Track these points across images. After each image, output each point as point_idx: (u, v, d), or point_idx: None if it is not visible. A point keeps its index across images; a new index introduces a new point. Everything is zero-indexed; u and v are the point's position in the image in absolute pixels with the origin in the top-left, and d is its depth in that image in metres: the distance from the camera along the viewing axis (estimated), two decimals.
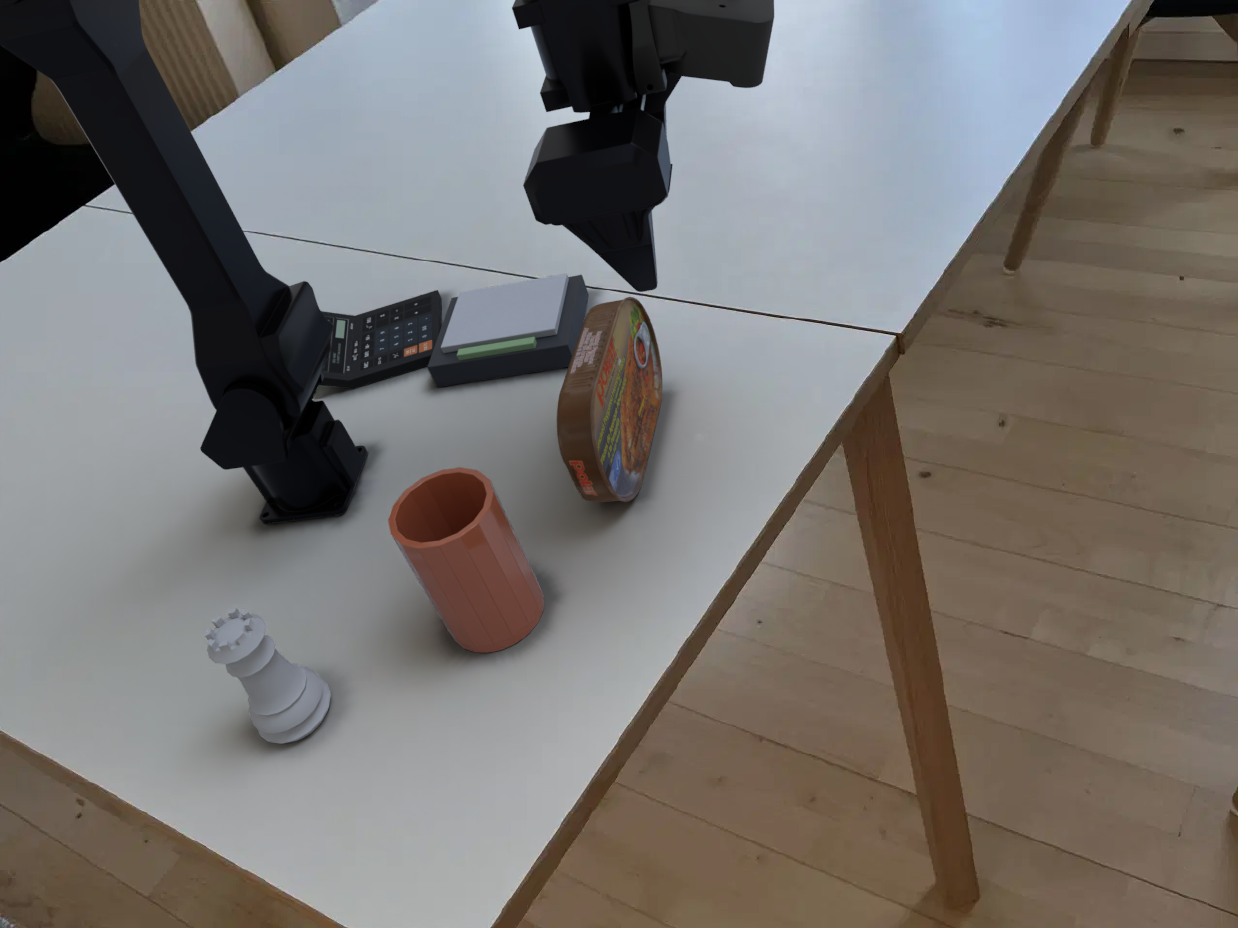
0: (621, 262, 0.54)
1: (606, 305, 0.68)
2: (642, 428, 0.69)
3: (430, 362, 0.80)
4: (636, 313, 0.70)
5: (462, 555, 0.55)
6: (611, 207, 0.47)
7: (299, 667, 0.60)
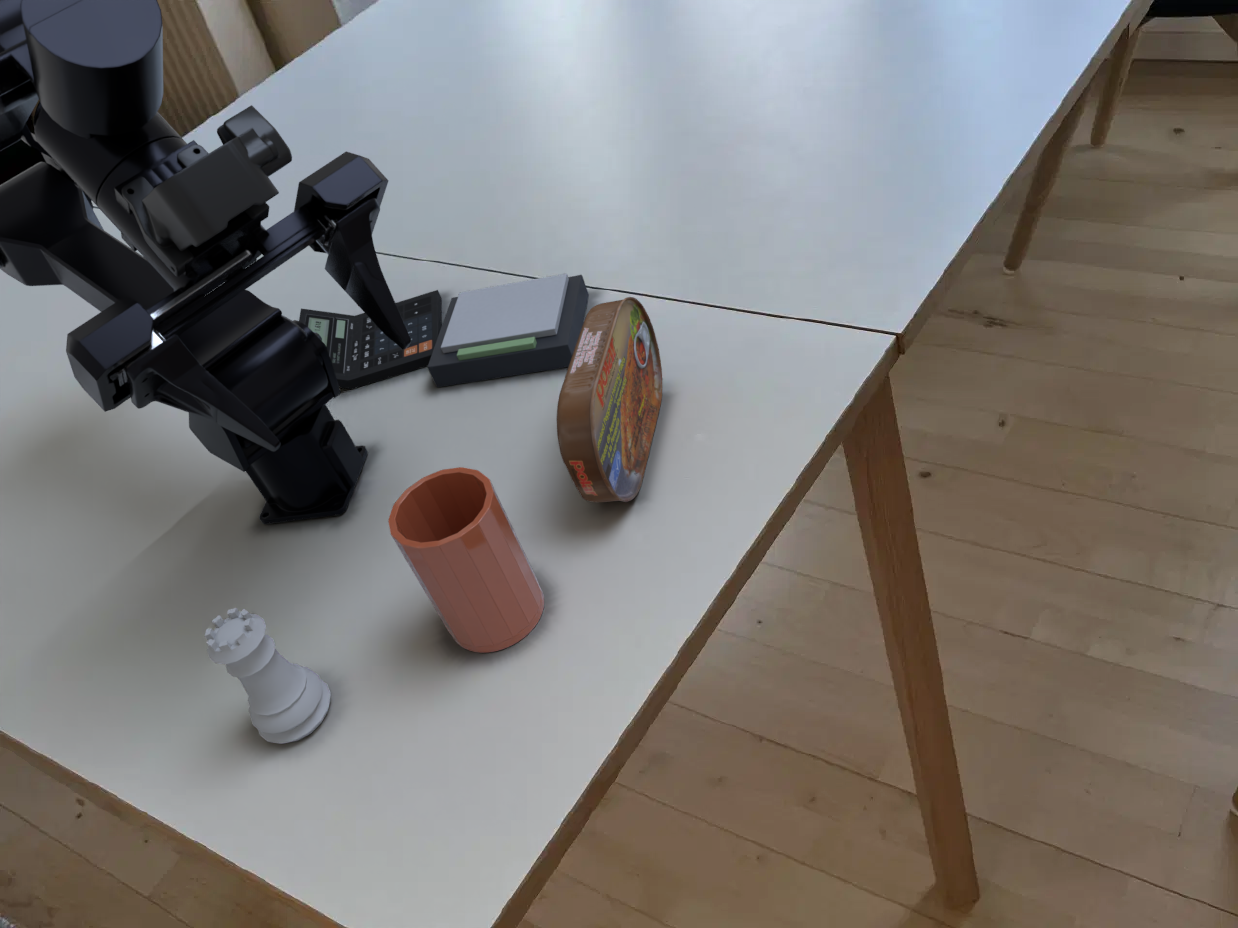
0: (231, 427, 0.56)
1: (606, 305, 0.68)
2: (642, 428, 0.69)
3: (430, 362, 0.80)
4: (636, 313, 0.70)
5: (462, 555, 0.55)
6: (96, 389, 0.53)
7: (299, 667, 0.60)
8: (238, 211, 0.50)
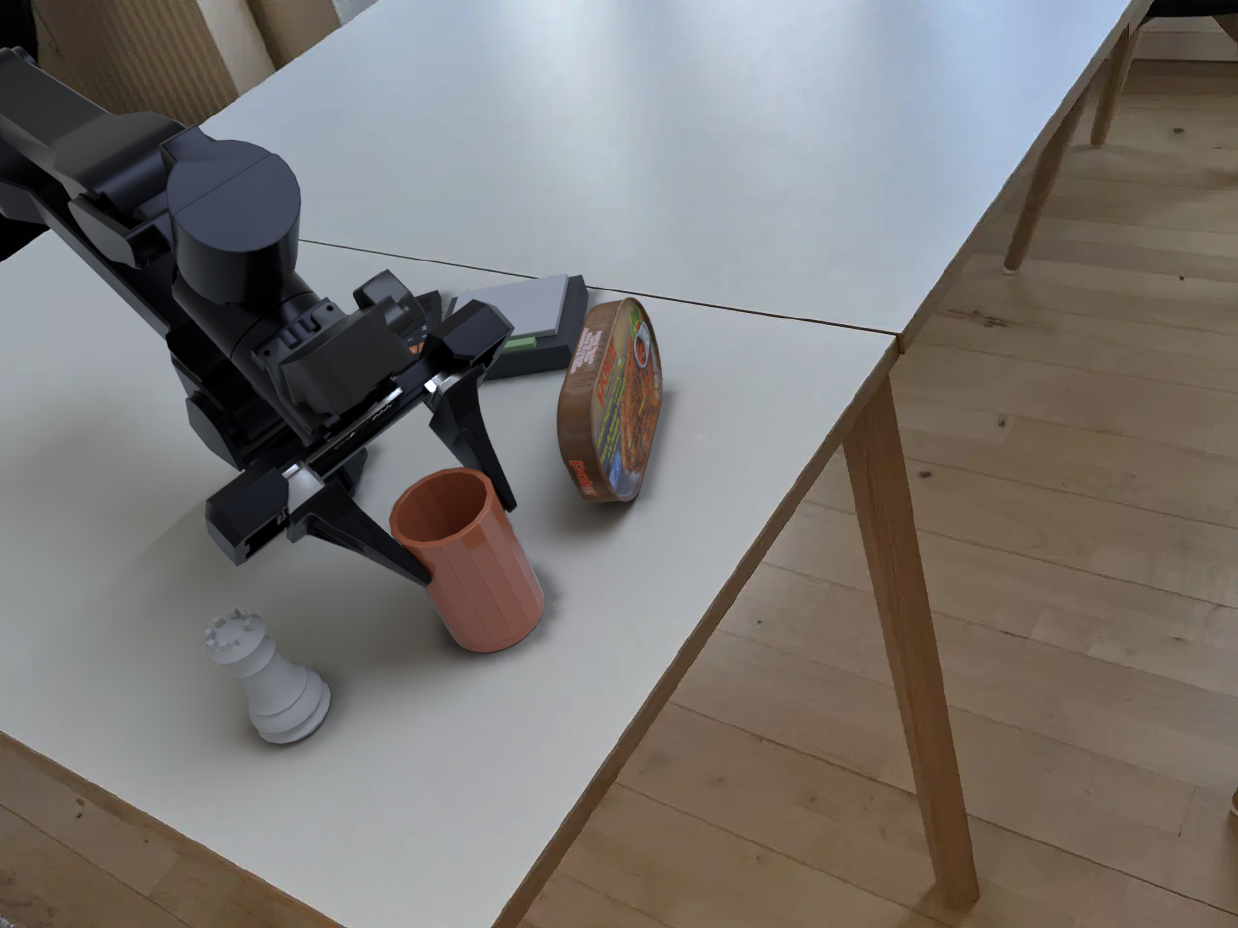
0: (383, 563, 0.56)
1: (606, 305, 0.68)
2: (642, 428, 0.69)
3: None
4: (636, 313, 0.70)
5: (462, 555, 0.55)
6: (232, 552, 0.53)
7: (299, 667, 0.60)
8: (376, 380, 0.50)
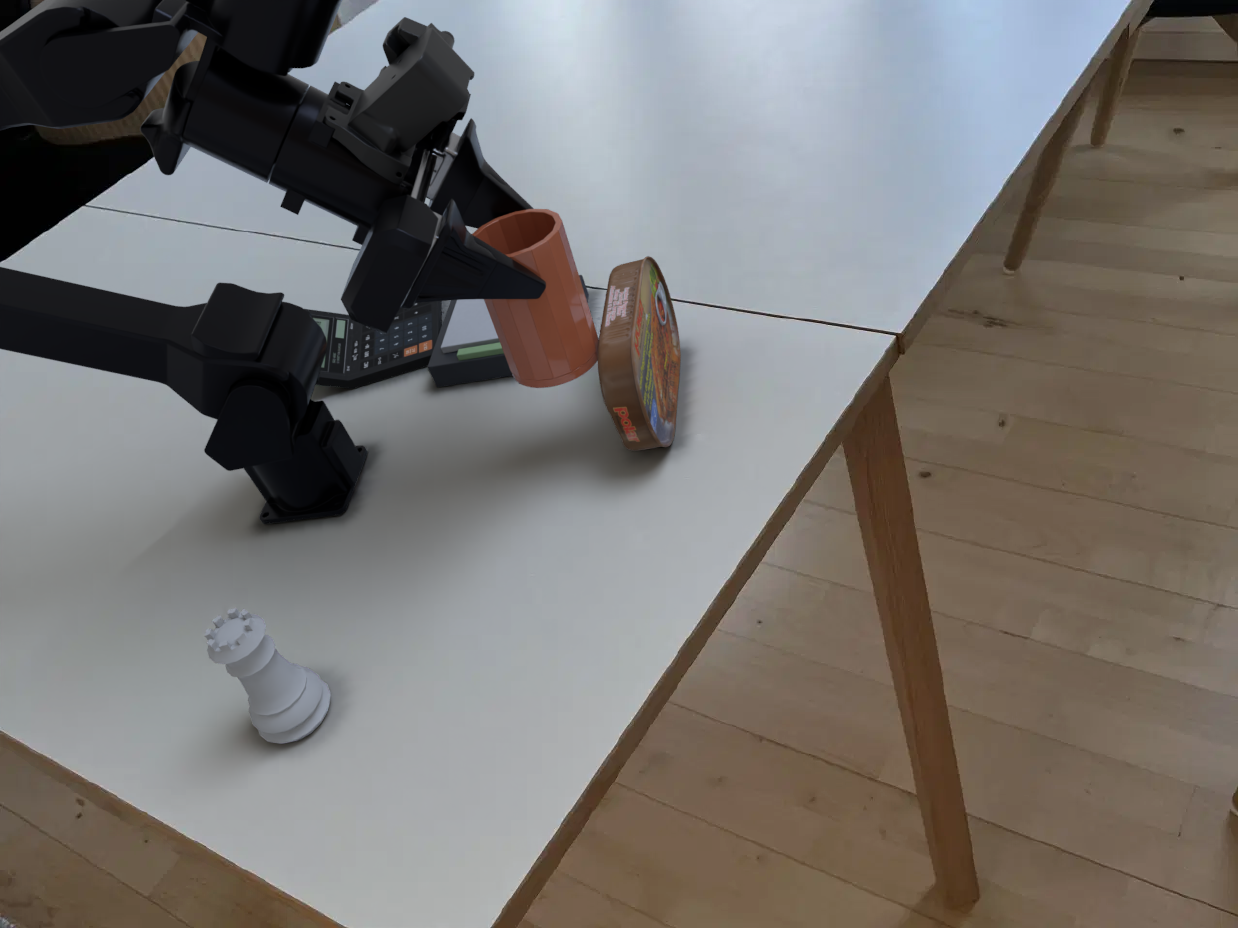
0: (498, 290, 0.60)
1: (628, 264, 0.71)
2: (668, 382, 0.72)
3: (430, 362, 0.80)
4: (653, 273, 0.73)
5: (561, 252, 0.61)
6: (406, 286, 0.53)
7: (299, 667, 0.60)
8: (467, 81, 0.55)
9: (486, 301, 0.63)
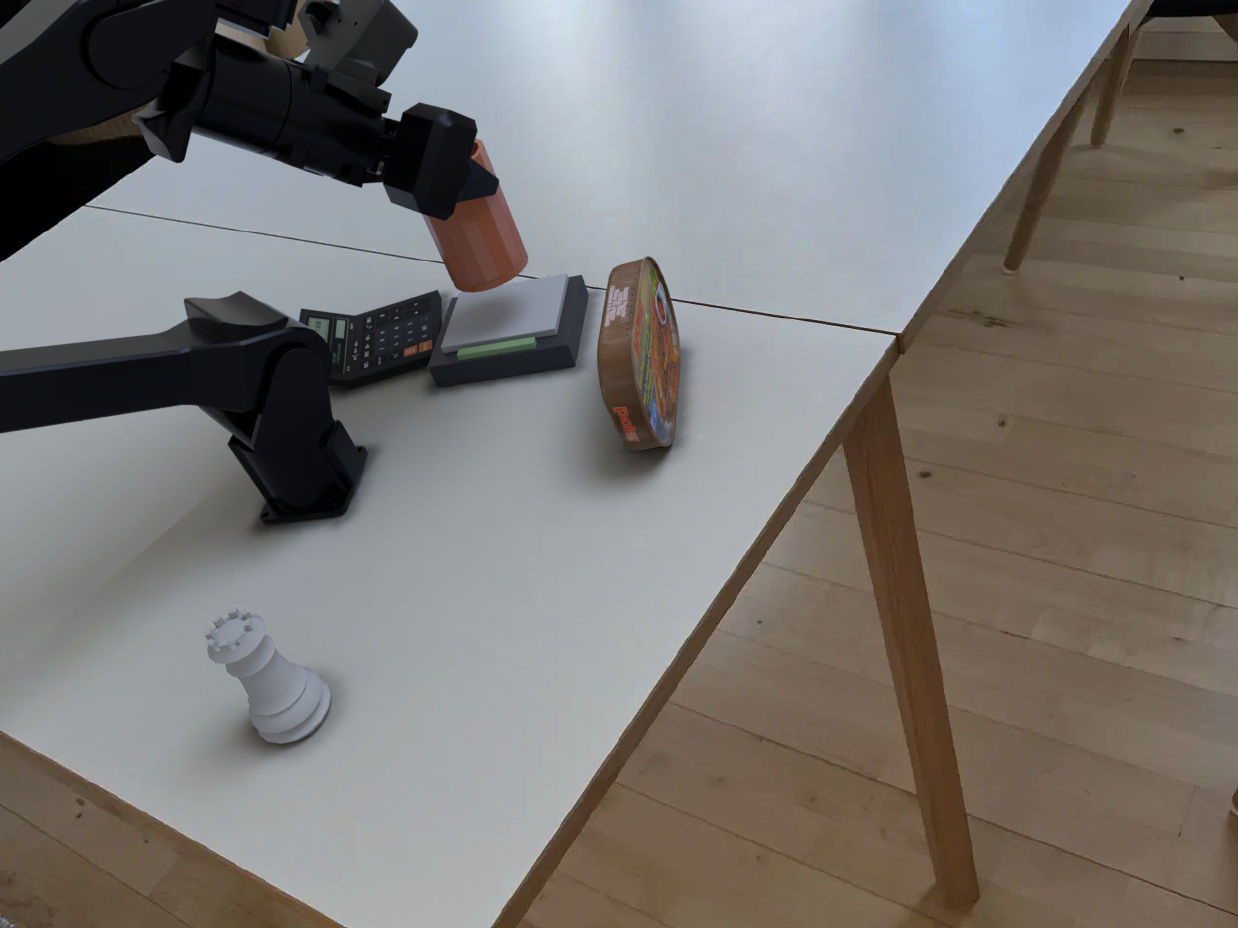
0: (473, 189, 0.71)
1: (628, 264, 0.71)
2: (668, 382, 0.72)
3: (430, 362, 0.80)
4: (653, 273, 0.73)
5: None
6: (465, 161, 0.63)
7: (299, 667, 0.60)
8: None
9: (446, 220, 0.73)
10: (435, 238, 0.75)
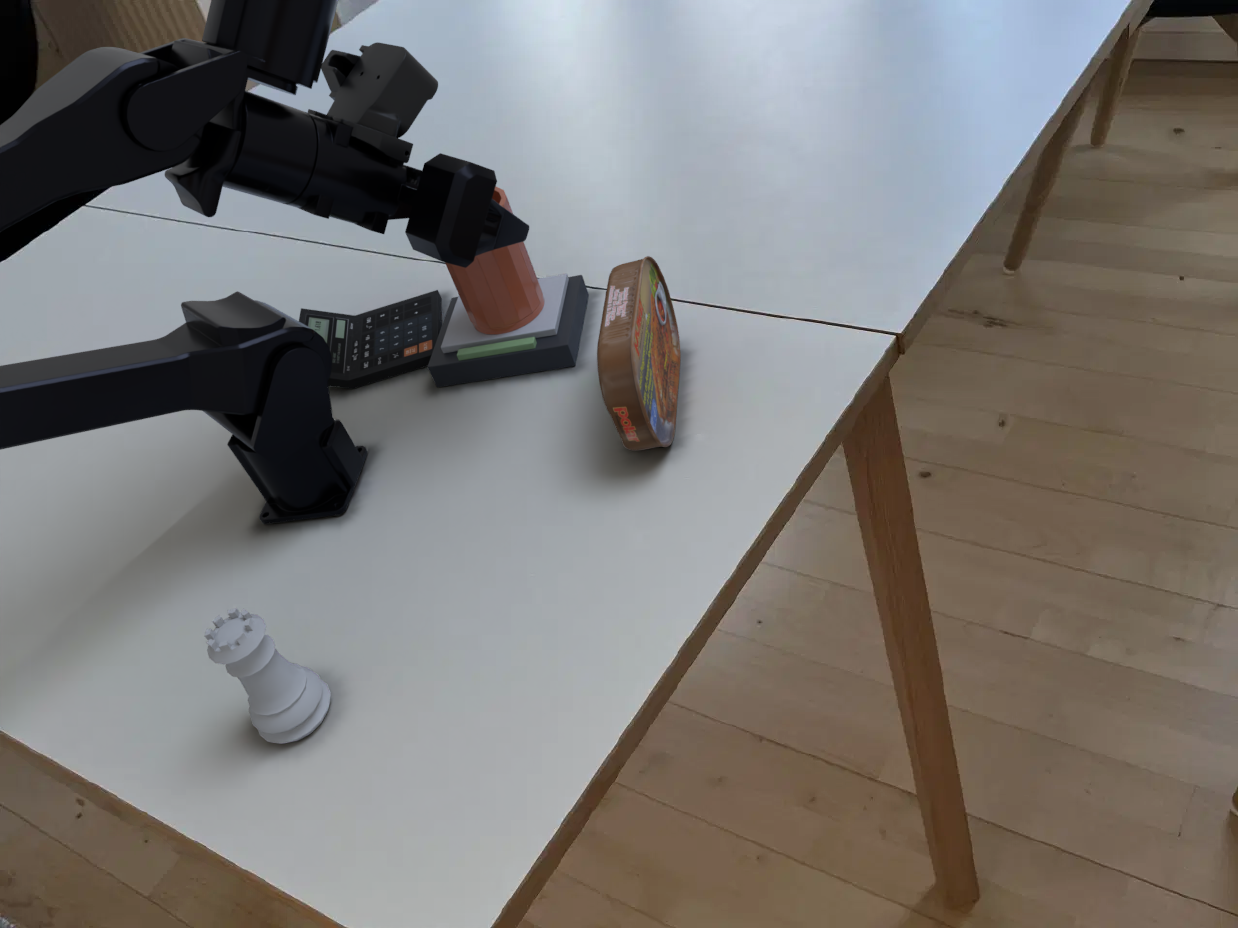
0: (505, 237, 0.72)
1: (628, 264, 0.71)
2: (668, 382, 0.72)
3: (430, 362, 0.80)
4: (653, 273, 0.73)
5: None
6: (485, 210, 0.65)
7: (299, 667, 0.60)
8: None
9: (469, 268, 0.75)
10: (456, 283, 0.77)
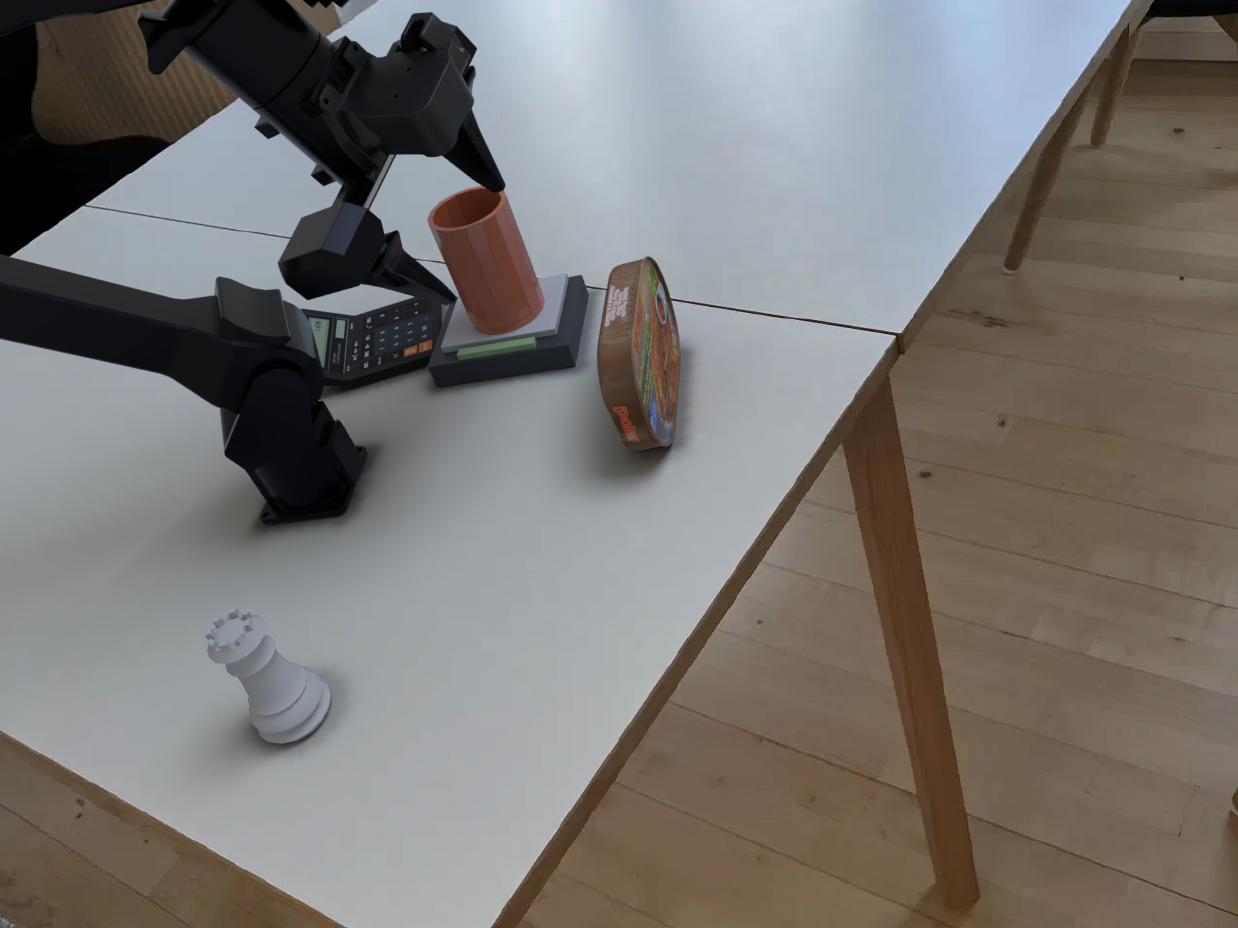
0: (412, 292, 0.66)
1: (628, 264, 0.71)
2: (668, 382, 0.72)
3: (430, 362, 0.80)
4: (653, 273, 0.73)
5: None
6: (335, 289, 0.60)
7: (299, 667, 0.60)
8: (461, 122, 0.58)
9: (469, 268, 0.75)
10: (456, 283, 0.77)
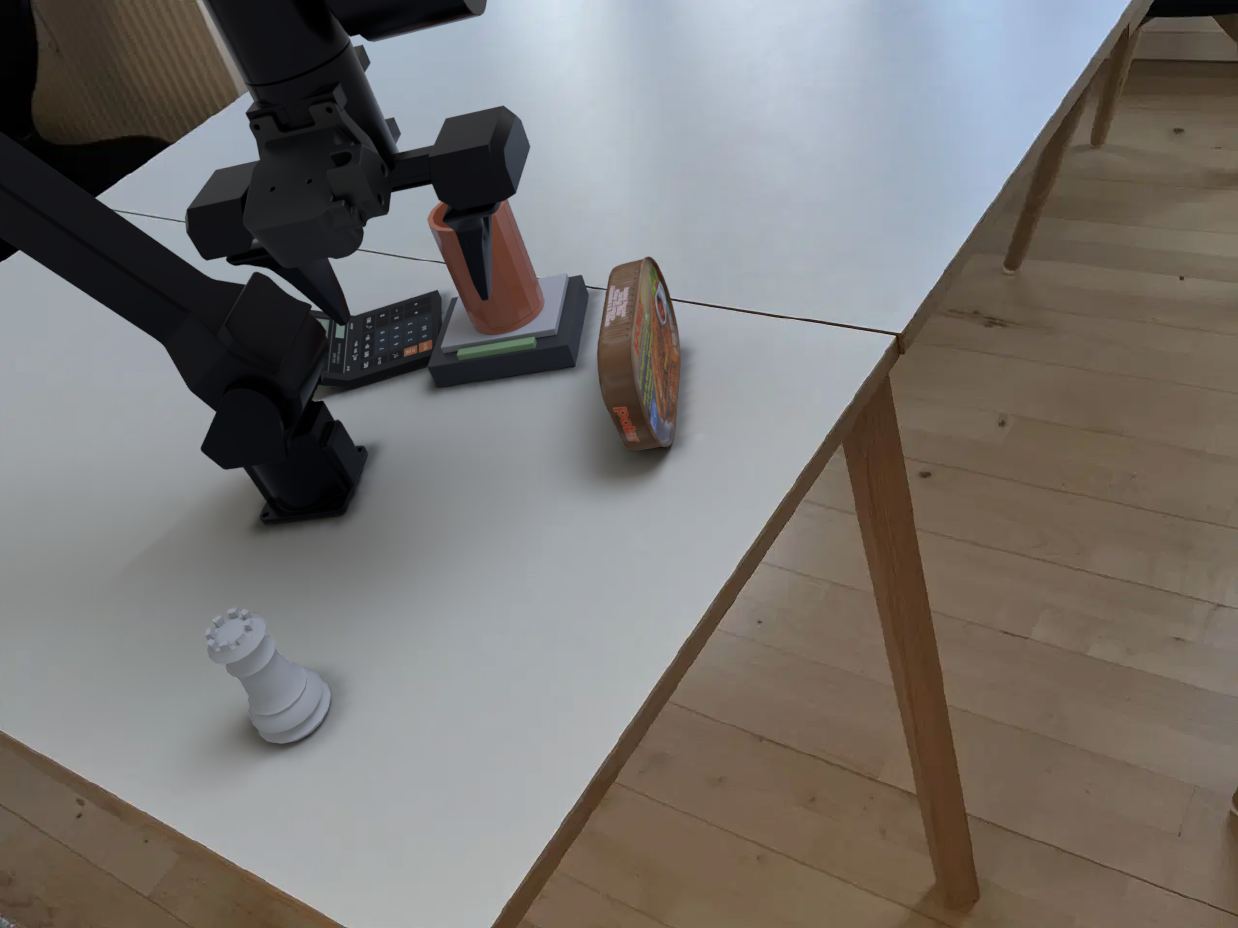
0: None
1: (628, 264, 0.71)
2: (668, 382, 0.72)
3: (430, 362, 0.80)
4: (653, 273, 0.73)
5: None
6: None
7: (299, 667, 0.60)
8: (312, 260, 0.53)
9: None
10: (456, 283, 0.77)
